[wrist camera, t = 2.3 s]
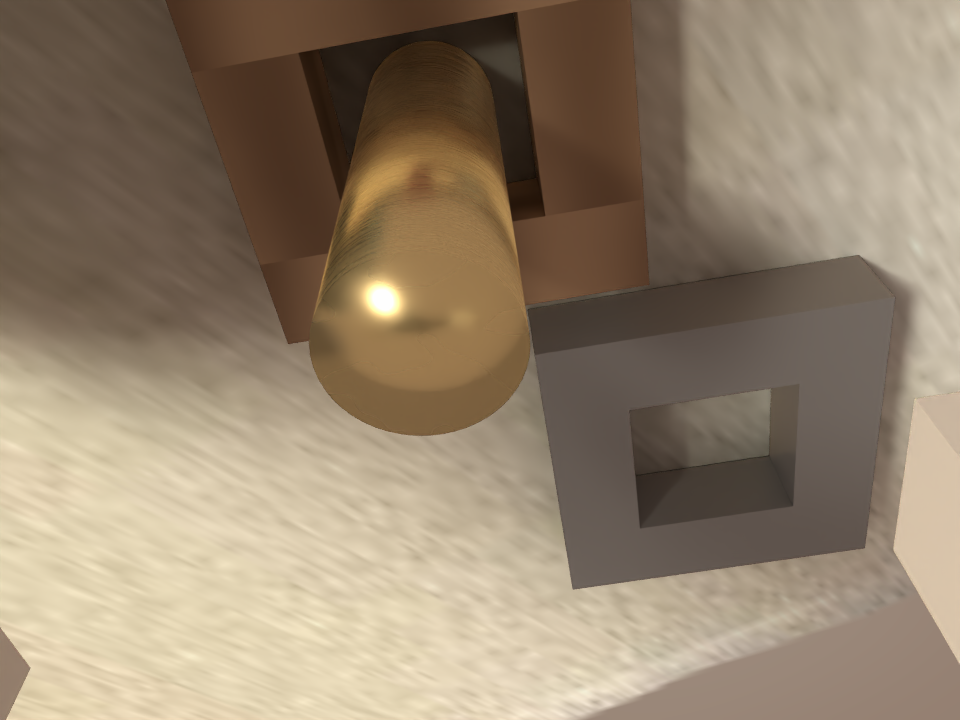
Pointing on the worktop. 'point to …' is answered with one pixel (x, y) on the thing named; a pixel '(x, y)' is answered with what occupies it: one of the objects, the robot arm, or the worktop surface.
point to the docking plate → (705, 374)
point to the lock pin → (423, 255)
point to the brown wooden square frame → (323, 159)
